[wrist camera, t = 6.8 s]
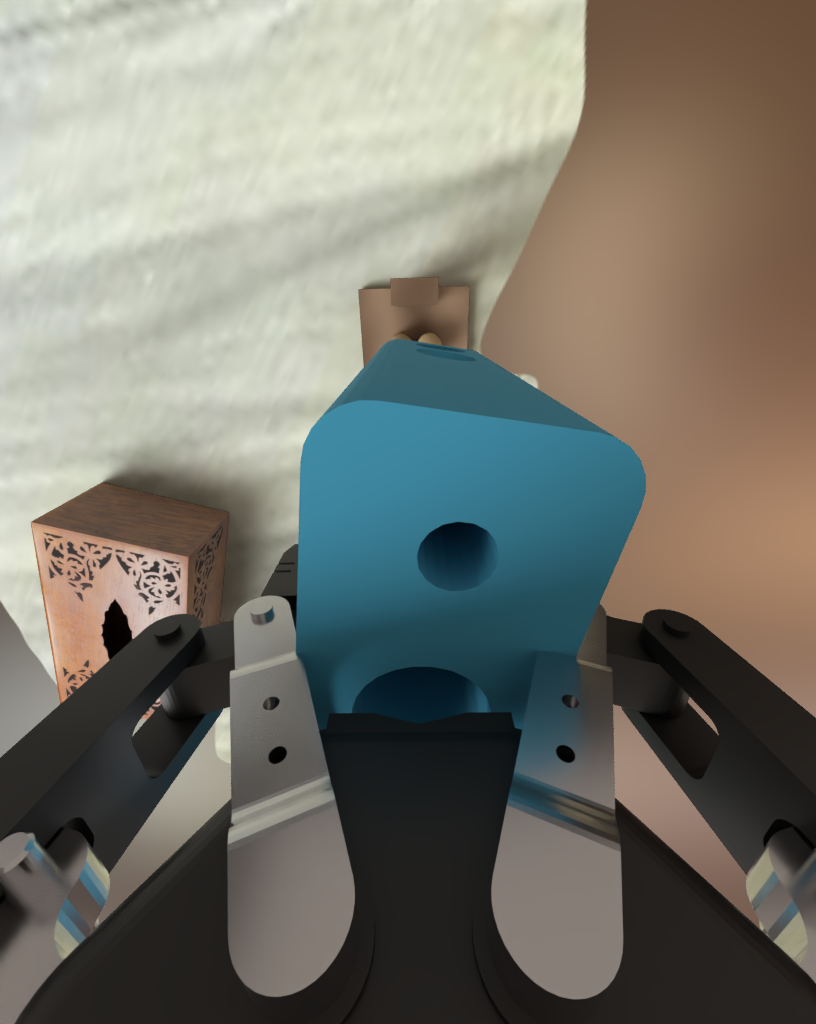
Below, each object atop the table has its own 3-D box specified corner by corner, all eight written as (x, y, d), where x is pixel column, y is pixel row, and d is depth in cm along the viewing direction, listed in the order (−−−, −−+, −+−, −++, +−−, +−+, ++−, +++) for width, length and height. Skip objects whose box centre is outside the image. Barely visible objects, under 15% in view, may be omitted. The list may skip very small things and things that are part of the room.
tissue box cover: (217, 663, 60) (182, 725, 51) (114, 643, 58) (60, 704, 49) (229, 511, 49) (188, 557, 40) (103, 481, 47) (30, 522, 38)
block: (386, 329, 23) (302, 389, 5) (472, 342, 24) (669, 442, 6) (366, 515, 29) (289, 862, 11) (437, 524, 29) (479, 877, 11)
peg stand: (372, 471, 46) (357, 532, 33) (360, 290, 38) (333, 280, 25) (461, 469, 46) (480, 530, 33) (467, 286, 38) (495, 275, 25)
